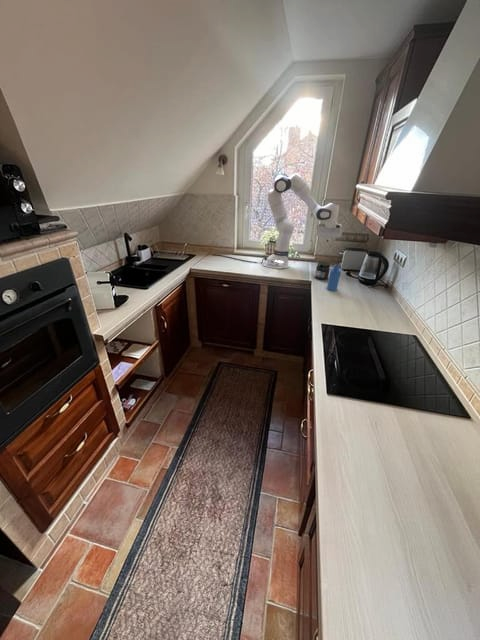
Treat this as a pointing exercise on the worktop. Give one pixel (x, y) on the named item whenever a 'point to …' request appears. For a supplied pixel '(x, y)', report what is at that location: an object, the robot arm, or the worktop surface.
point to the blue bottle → (334, 278)
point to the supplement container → (322, 270)
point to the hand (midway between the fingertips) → (327, 242)
